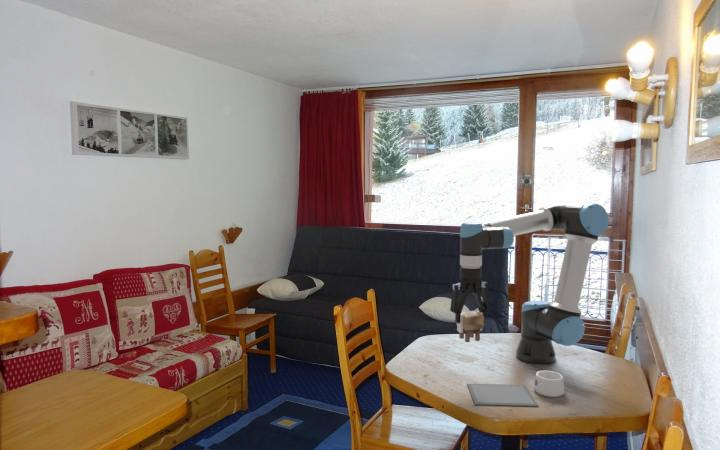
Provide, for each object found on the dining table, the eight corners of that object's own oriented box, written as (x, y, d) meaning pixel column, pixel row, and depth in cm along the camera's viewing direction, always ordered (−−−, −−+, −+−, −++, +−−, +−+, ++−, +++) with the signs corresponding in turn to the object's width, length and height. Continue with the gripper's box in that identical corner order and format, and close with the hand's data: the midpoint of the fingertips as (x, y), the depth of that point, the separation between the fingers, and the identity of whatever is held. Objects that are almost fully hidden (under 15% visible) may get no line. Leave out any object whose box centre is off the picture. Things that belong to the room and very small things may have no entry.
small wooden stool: (473, 335, 181) (473, 310, 180) (483, 341, 174) (483, 315, 173) (455, 337, 178) (456, 312, 178) (465, 343, 172) (466, 317, 171)
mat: (524, 386, 174) (524, 384, 174) (538, 406, 158) (538, 405, 158) (467, 384, 176) (467, 383, 176) (475, 405, 160) (475, 403, 160)
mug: (568, 398, 165) (568, 381, 164) (538, 397, 165) (538, 380, 165) (557, 384, 177) (557, 367, 176) (529, 383, 177) (529, 366, 177)
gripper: (489, 263, 180) (488, 325, 182) (440, 266, 174) (439, 330, 176) (501, 266, 173) (500, 331, 175) (450, 270, 167) (449, 336, 169)
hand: (469, 330), depth 176 cm, fingers closed on small wooden stool, 7 cm apart
